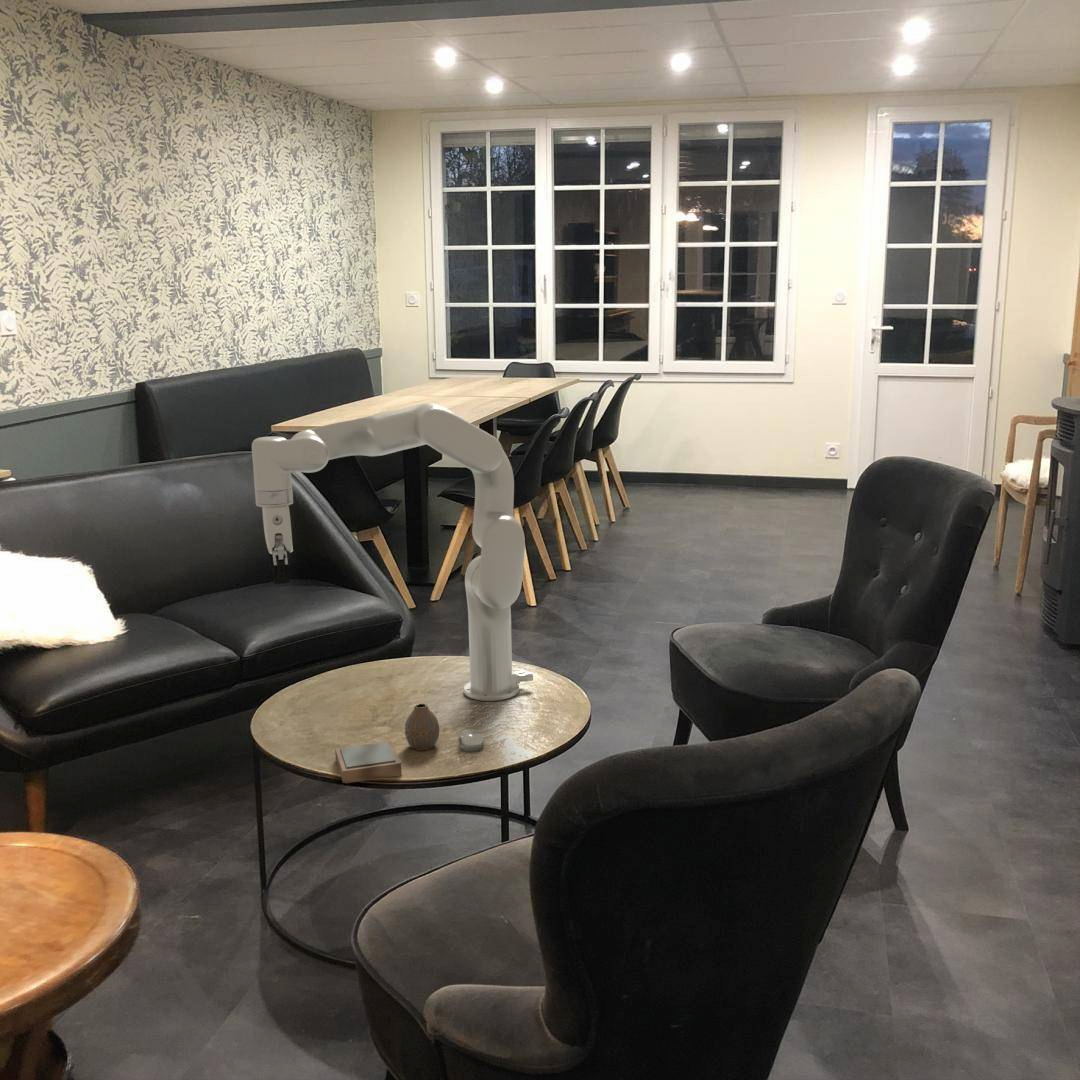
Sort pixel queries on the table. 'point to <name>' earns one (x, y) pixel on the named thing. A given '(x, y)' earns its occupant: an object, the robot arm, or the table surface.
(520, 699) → the table surface
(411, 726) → the vase
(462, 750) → the tin
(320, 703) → the table surface
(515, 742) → the table surface
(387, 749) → the plinth
